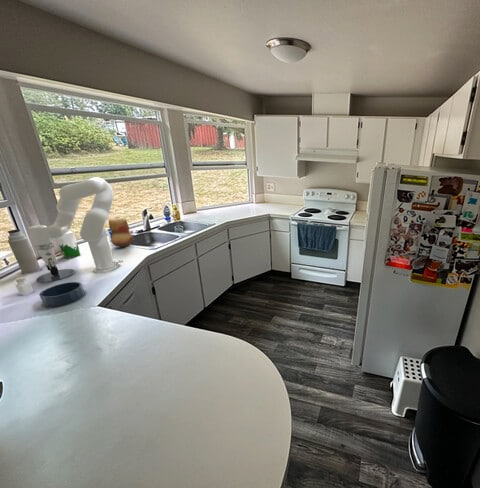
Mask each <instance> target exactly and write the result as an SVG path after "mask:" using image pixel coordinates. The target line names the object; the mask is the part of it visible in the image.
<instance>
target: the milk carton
mask: <svg viewBox="0 0 480 488" xmlns="http://www.w3.org/2000/svg"><path fill="white" fill-rule="evenodd" d="M56 240H57V243H58V246H59V248H60V251H61V253H62V254H63V257H65V258H66V259H70V258H76V257H79V256H81V251H80V247H79V244H78V242H77V238H76V236H75V234H74V232H73V231H71V230H69V231H68V232H67V233H66V234H65V235H63V236H62V237H60V238H56Z"/></svg>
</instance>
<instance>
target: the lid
mask: <svg viewBox="0 0 480 488" xmlns="http://www.w3.org/2000/svg"><path fill="white" fill-rule="evenodd" d="M56 267H57V269H58V266H57V265H56ZM58 271H59V274H55V275H51V272H50V271H49V272H46V273H44V274H41V275H40V276H38V277H37V278H36V281H37V282H39V283H51V282H56V281H60V280H63V279H66V278H69V277H71V276H73V275H74V274H75V273H76V270H74V269H72V268H65V269H58Z"/></svg>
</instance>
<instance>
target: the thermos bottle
mask: <svg viewBox="0 0 480 488" xmlns="http://www.w3.org/2000/svg"><path fill="white" fill-rule="evenodd" d="M7 234H8V236H7V239H8V240H7V243H8V245H9V247H10V249H11V251H12V254H13V256H14V258H15V260H16V262H17V265H18V267H19V269H20V271H21V274H23V275H28V274H33V273H36V272H39V271H41V266H40V264H39V261H38V259H37V257H36V254H35V252H34V249H33V247H32V245H31V241H30V240H29V238H28V236H26V235H25V233H22V231H21V229H18V228H17V229H11V230H7Z"/></svg>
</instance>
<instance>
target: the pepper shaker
mask: <svg viewBox="0 0 480 488" xmlns="http://www.w3.org/2000/svg"><path fill="white" fill-rule="evenodd" d="M14 280H15V281H16V285H15V287H16V290H17V292H18V294H19V295H22V296H23V295H24V296H25V295H28V294H31V293H33V292H34V289H33V287H32V285H31V282H29V281H27V279H26V277H25V276H19V277H17V278H15V279H14Z"/></svg>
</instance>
